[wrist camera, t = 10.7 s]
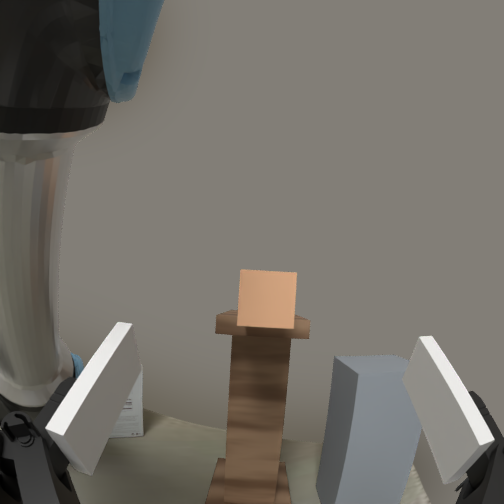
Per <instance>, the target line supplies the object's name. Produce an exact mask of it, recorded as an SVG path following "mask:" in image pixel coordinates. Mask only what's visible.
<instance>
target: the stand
mask: <svg viewBox="0 0 504 504" xmlns="http://www.w3.org/2000/svg"><path fill="white" fill-rule="evenodd" d="M237 317H238V310H230V311H227V312H225V313H221V314H218V315H217V316H216V331H215V333H216V334H227V335H232V349H231V366H230V384H229V402H228V422H227V441H226V459H225V458H218V460H217V464H216V467H215V471H214V475H213V478H212V481H211V485H210V488H209V492H208V495H207V499H206V502H205V504H291V500H290V493H289V487H288V480H287V473H286V467H285V462H279V460H280V452H281V443H282V434H283V425H284V414H285V405H286V394H287V383H288V372H289V360H290V359H289V358H290V347H291V338H295V339H296V338H297V339H309V332H310V320H308V319H305V318H303V317H300V316H297V315H295V316H294V329H287V328H267V327H251V326H237Z"/></svg>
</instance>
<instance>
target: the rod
mask: <svg viewBox="0 0 504 504" xmlns="http://www.w3.org/2000/svg"><path fill="white" fill-rule="evenodd" d="M296 280H297V273H294V272H276V271H258V270H243V269H242V270H241V272H240V287H239V302H238V303H239V304H238V317H237V326H251V327H267V328H287V329H294V316H295V299H296Z"/></svg>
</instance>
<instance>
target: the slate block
mask: <svg viewBox="0 0 504 504" xmlns="http://www.w3.org/2000/svg"><path fill="white" fill-rule="evenodd" d="M408 364H409V360H407V359H404V358H401V357H399V356H396V355H378V356H334V363H333V373H332V383H331V392H330V400H329V409H328V415H327V423H326V430H325V437H324V443H323V449H322V455H321V461H320V466H319V472H318V477H317V482H316V489H317V492H318V495H319V499H320V502H321V504H399V503H400V500H401V498H402V495H403V492H404V489H405V486H406V483H407V480H408V477H409V474H410V470H411V467H412V463H413V460H414V456H415V452H416V449H417V445H418V441H419V437H420V432H421V428H422V425H421V423H420V421H419V418H418V416H417V413H416V411H415V409H414V406H413V404H412V401H411V399H410V397H409V395H408V392H407V390H406V388H405V385H404V383H403V381H402V378H403V376H404V373H405V371H406V369H407V366H408Z"/></svg>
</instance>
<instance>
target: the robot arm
mask: <svg viewBox="0 0 504 504" xmlns="http://www.w3.org/2000/svg"><path fill="white" fill-rule="evenodd" d="M163 3H164V0H0V426H1V429H2V430H0V504H80V502H79V499H78V497H77V494H76V491H75V489H74V486H73V483H72V480H71V477H70V475H69V472H68V470H67V466H68V464H69V463H70V464H71V465H72V466H73V468H74V469H75V470H77V471H80V472H82V473H85V474H87V475H90V476H92V474H93V472H94V470H95V468H96V465H97V463H98V461H99V459H100V456H101V454H102V452H103V450H104V448H105V445H106V443H107V441H108V439H109V437H110V435H111V432H112V430H113V428H114V426H115V424H116V422H117V420H118V417H119V415H120V413H121V411H122V409H123V407H124V405H125V403H126V401H127V399H128V397H129V395H130V392H131V390H132V388H133V386H134V384H135V382H136V380H137V378H138V376H139V374H140V372H141V370H142V366H141V362H140V357H139V353H138V348H137V344H136V339H135V334H134V328H133V325H132V324H129V323H122V322H117V324H116V325H115V327H114V328H113V329H112V331H111V332H110V334H109V335H108V336H107V337H106V339H105V340H104V342H103V343H102V344H101V346H100V347H99V349H98V350H97V351H96V353H95V354H94V356H93V357H92V358H91V360H90V361H89V363H88V364H87V366H86V367H85V368H84V366H83V361H82V359H81V358H80V357H79V356H78V355H75V354H73V353H71V352H70V351H69V349H68V347H67V345H66V344H65V342H64V341H63V340H62V339H61V338H60V337H59V315H58V314H59V313H58V283H59V256H60V243H61V230H62V222H63V213H64V205H65V198H66V191H67V185H68V179H69V173H70V168H71V162H72V157H73V153H74V148H75V146H76V144H77V143H78V142H79V141H80V140H82V139H84V138H85V137H87V136H88V135H90V134H91V133H93V132H94V131H96V130H97V129H99V128H100V127H101V126H102V124H103V121H104V118H105V115H106V111H107V108H108V105H109V102H110V100H111V101H112V102H116V103H120V102H123V101H129V100H131V99H132V98H133V97H134V96H135V93H136V90H137V87H138V82H139V78H140V75H141V71H142V67H143V63H144V60H145V58H146V55H147V52H148V49H149V46H150V42H151V39H152V35H153V33H154V29H155V26H156V23H157V20H158V17H159V14H160V11H161V8H162V5H163ZM402 381H403V383H404V385H405V388H406V390H407V392H408V395H409V397H410V399H411V401H412V404H413V406H414V409H415V411H416V413H417V416H418V418H419V421H420V423H421V425H422V428H423V430H424V433H425V435H426V438H427V440H428V443H429V446H430V448H431V451H432V454H433V456H434V459H435V461H436V464H437V467H438V470H439V473H440V476H441V479H442V481H443V484H447V483H450V482H453V481H456V480H458V479H460V478H461V477H462V476H463V475H464V474H465V473H467V476H468V478H466V479H465V481H463V482H462V483H461V484H460V485H459V486H458V487H457V488H456V490H455V491H458V490H459V489H460V488H461V487H462V489H461V492H460V495H459V497H458V499H457V502H456V504H504V437H503V436H502V434H501V432H500V430H499V429H498V427H497V425H496V423H495V421H494V420H493V418H492V416H491V415H490V414H489V411H488V409H487V408H486V406H485V404H484V402H483V401H482V399H481V398H480V397H479V396H478V395H477V394H476V393H475V392H473V391H470V392H468V391H467V390H466V388H465V386H464V385H463V383H462V382H461V380H460V378H459V377H458V375H457V373H456V372H455V370H454V369H453V367H452V365H451V364H450V362H449V361H448V359H447V358H446V356H445V355H444V353H443V352H442V351H441V349H440V347H439V346H438V344H437V343H436V342H435V340H434V338H433V337H432V336H424V337H423V336H422V337H419V338H418V341H417V344H416V346H415V349H414V351H413V354H412V357H411V359H410V361H409V364H408V366H407V369H406V371H405V373H404V376H403V378H402Z"/></svg>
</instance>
